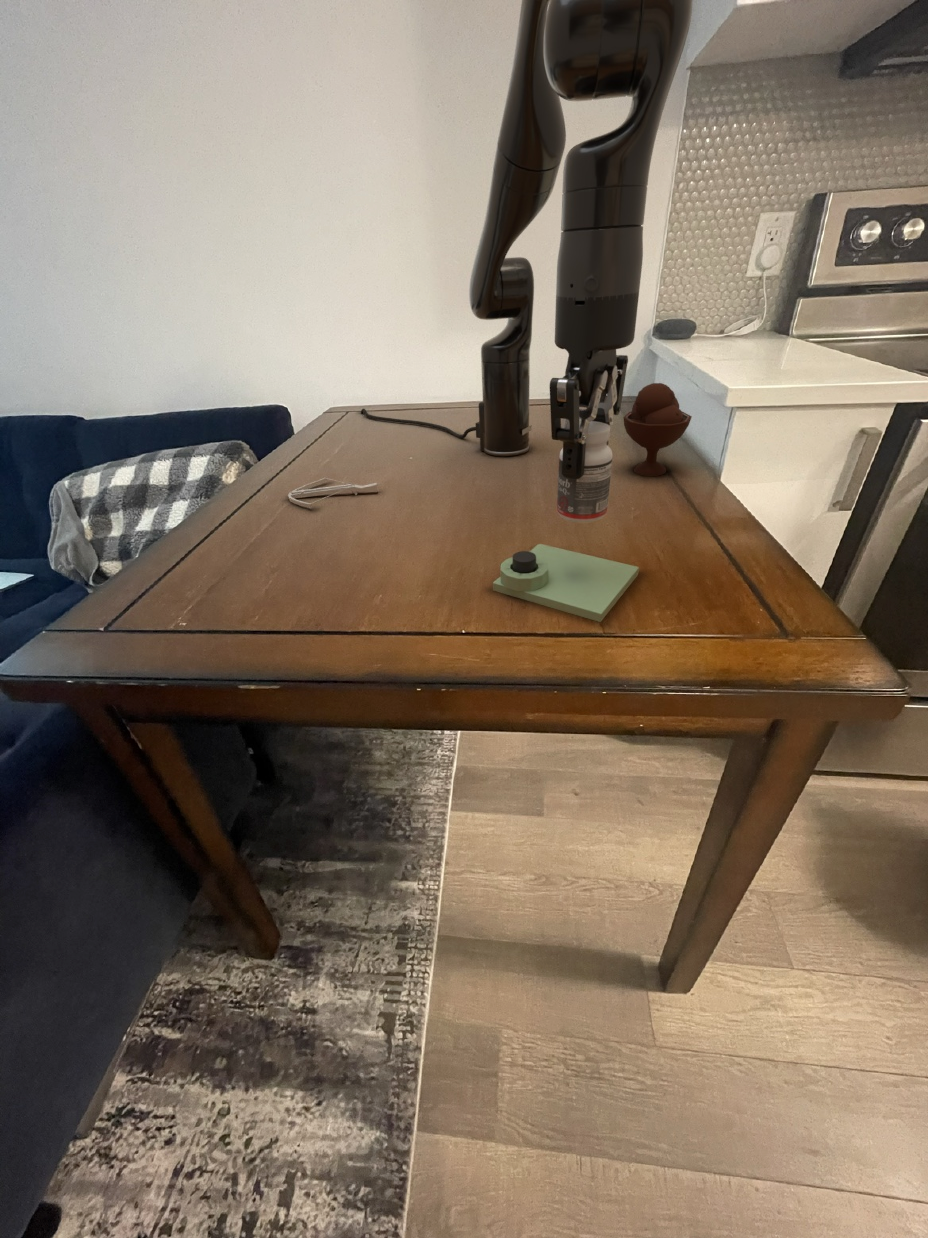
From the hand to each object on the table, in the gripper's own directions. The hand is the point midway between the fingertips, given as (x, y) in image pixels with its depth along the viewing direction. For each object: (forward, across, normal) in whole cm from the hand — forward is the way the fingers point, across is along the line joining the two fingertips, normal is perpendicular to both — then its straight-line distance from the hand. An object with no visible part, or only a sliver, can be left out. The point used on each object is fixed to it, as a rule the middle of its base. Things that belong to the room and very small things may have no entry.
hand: (584, 467), depth 60 cm
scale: (+14, +1, -1) cm, 14 cm away
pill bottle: (+6, 0, 0) cm, 6 cm away
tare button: (+12, +5, -5) cm, 14 cm away
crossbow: (+15, -7, -50) cm, 52 cm away
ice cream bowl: (+15, -42, -5) cm, 45 cm away
